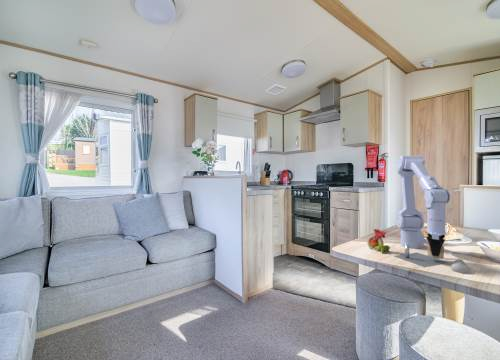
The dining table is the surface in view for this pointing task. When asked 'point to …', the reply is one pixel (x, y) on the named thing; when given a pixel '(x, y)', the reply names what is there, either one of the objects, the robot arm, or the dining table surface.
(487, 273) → the dining table surface
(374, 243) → the bird rattle
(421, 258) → the lacing board
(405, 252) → the steel post
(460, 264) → the pale two-lobed sculpture
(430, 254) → the brown wooden block
